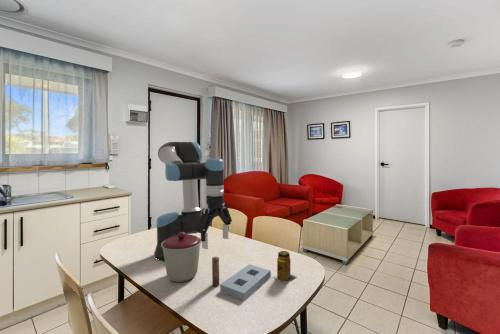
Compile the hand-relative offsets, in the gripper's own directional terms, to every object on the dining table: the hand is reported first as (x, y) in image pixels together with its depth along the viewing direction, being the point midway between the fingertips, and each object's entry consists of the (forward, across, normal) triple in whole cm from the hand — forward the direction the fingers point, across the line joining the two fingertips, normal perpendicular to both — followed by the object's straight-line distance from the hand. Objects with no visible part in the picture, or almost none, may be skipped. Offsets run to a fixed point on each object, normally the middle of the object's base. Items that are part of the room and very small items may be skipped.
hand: (215, 243), depth 107 cm
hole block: (+18, +8, -11) cm, 23 cm away
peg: (+18, 0, 0) cm, 19 cm away
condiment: (+19, +22, -23) cm, 37 cm away
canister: (+19, -3, +18) cm, 26 cm away
